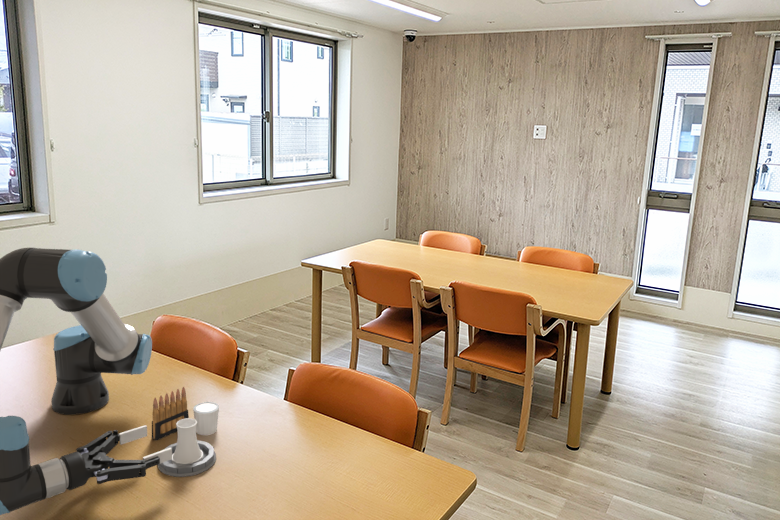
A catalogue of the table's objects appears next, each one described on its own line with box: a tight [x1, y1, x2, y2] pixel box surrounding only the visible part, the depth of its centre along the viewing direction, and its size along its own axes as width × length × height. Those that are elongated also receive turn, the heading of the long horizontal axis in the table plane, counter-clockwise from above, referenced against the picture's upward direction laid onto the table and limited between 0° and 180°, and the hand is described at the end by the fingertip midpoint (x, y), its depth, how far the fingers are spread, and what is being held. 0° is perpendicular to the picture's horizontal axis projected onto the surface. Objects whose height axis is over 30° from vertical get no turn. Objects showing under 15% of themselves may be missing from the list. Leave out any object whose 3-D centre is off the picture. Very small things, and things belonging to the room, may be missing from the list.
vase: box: [172, 417, 203, 466], centre depth 150 cm, size 8×8×10 cm
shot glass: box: [192, 401, 220, 436], centre depth 166 cm, size 7×7×7 cm
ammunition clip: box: [151, 386, 190, 441], centre depth 164 cm, size 11×2×12 cm, turn 145°
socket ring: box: [157, 439, 217, 478], centre depth 152 cm, size 14×14×2 cm
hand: (158, 441), depth 145 cm, fingers open, 13 cm apart
